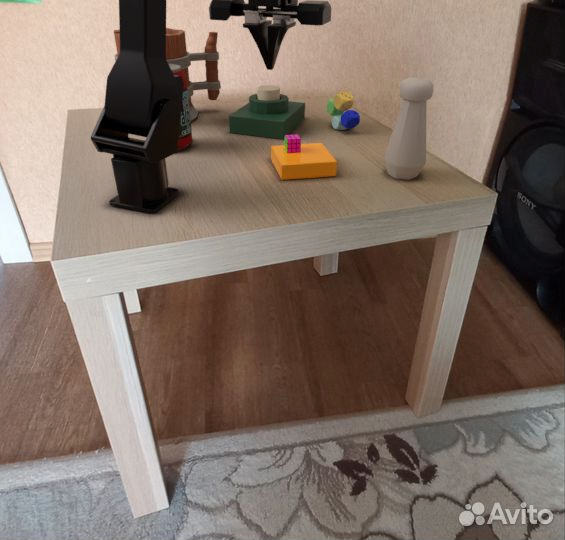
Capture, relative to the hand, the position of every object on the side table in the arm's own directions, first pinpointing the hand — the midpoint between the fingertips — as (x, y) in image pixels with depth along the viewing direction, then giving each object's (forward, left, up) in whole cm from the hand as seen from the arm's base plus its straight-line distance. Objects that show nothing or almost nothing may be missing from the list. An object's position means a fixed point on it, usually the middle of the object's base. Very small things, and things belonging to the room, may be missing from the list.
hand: (270, 69), depth 79 cm
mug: (+1, +20, -10) cm, 23 cm away
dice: (+5, -12, -10) cm, 17 cm away
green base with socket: (+2, +1, -10) cm, 10 cm away
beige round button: (+2, +1, -5) cm, 6 cm away
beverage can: (-14, +12, -10) cm, 21 cm away
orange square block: (-16, -11, -10) cm, 21 cm away
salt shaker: (-13, -25, -10) cm, 30 cm away
